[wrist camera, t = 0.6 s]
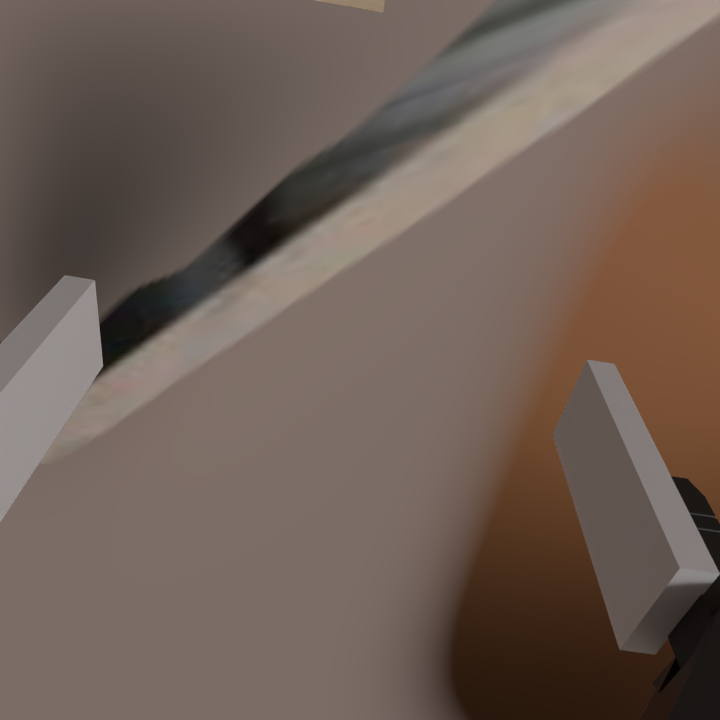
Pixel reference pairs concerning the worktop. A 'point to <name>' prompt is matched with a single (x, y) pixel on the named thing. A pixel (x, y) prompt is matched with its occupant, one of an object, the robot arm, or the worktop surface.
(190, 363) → the worktop surface
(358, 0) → the stand
